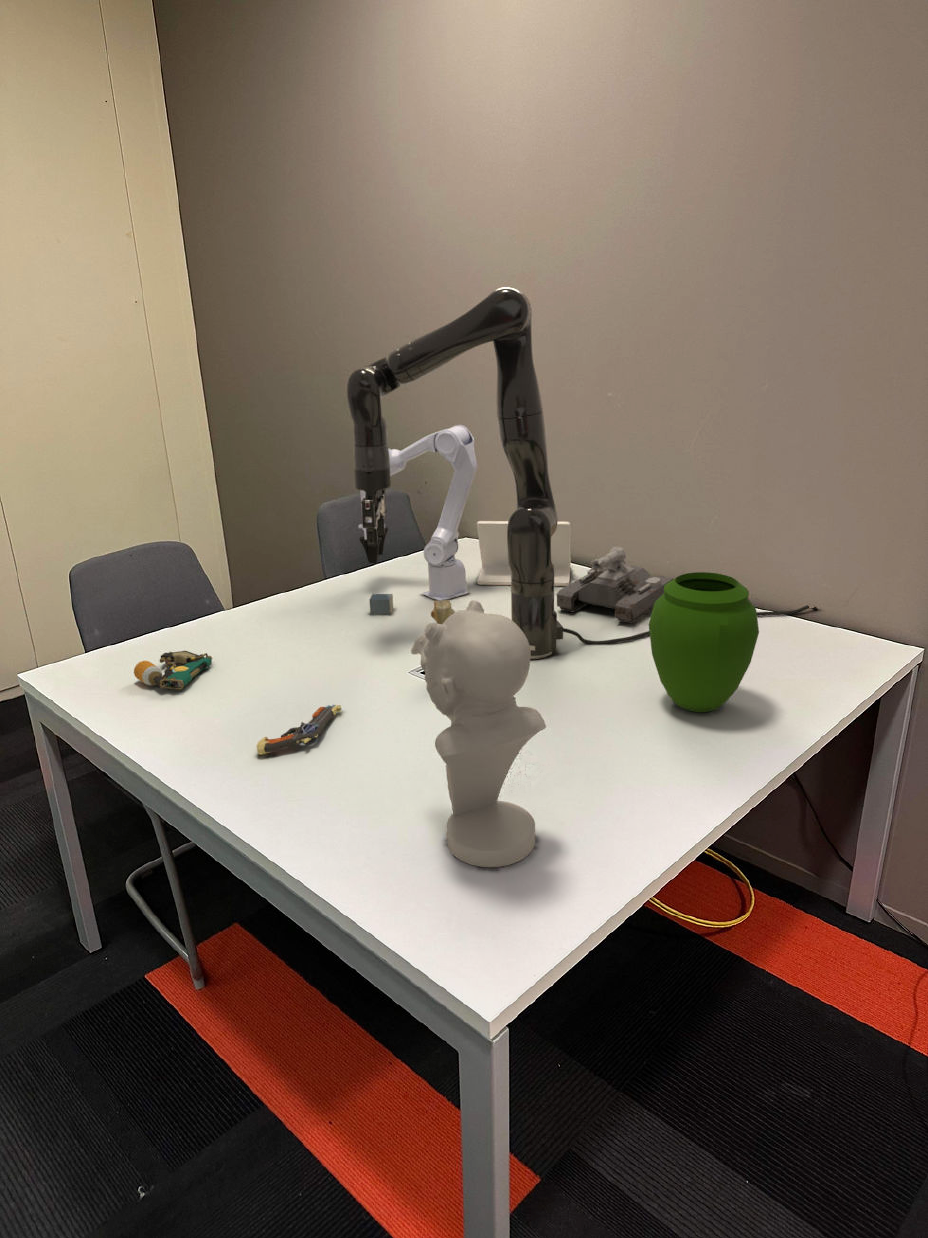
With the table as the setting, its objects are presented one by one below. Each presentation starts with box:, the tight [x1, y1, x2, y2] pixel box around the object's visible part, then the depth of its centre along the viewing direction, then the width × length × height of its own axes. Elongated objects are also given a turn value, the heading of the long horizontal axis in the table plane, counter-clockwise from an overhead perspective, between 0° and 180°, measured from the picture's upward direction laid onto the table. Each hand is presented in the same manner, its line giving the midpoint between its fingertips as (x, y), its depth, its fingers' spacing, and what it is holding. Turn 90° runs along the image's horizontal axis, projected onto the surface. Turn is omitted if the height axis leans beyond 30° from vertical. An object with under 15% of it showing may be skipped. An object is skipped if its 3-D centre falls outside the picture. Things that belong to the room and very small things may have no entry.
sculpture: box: [430, 599, 456, 624], centre depth 177 cm, size 6×7×15 cm
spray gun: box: [133, 650, 213, 690], centre depth 180 cm, size 4×17×15 cm
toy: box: [556, 546, 675, 624], centre depth 212 cm, size 25×20×15 cm
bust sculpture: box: [410, 599, 547, 868], centre depth 121 cm, size 16×24×35 cm
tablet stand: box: [476, 520, 572, 587], centre depth 236 cm, size 18×25×17 cm
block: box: [368, 593, 394, 616], centre depth 214 cm, size 4×5×4 cm
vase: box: [648, 571, 760, 713], centre depth 157 cm, size 20×20×24 cm
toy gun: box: [256, 704, 342, 756], centre depth 155 cm, size 3×19×10 cm
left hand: (375, 558), depth 229 cm, fingers open, 7 cm apart
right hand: (376, 540), depth 185 cm, fingers open, 8 cm apart
